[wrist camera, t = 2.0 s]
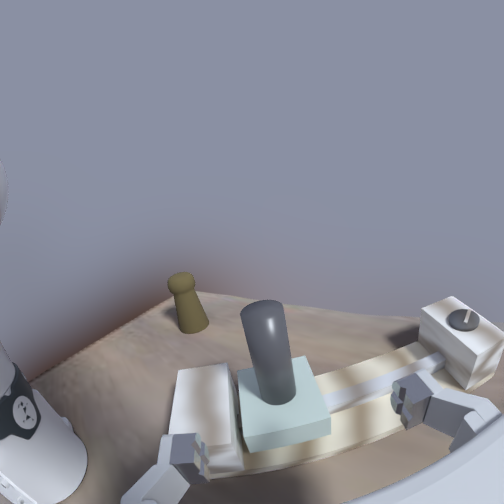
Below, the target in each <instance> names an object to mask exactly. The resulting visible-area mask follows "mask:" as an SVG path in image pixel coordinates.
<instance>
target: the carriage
mask: <svg viewBox="0 0 504 504" xmlns="http://www.w3.org/2000/svg"><path fill="white" fill-rule="evenodd" d="M240 316H241V320H242V324H243V328H244V332H245V336H246V340H247V344H248V348H249V352H250V356H251V359H252V363H253V368H248V369H243V370H238V371H237V374H238V385H239V396H240V407H241V417H242V427H243V437H244V440H245V442H246V444H247V447H248V449H249V452H250V453H254V452H259V451H265V450H270V449H275V448H280V447H285V446H289V445H293V444H298V443H302V442H306V441H309V440H313V439H317V438H320V437H324V436H327V435H331V416H330V413H329V411H328V409H327V406H326V404H325V401H324V399H323V397H322V394H321V392H320V390H319V387H318V385H317V383H316V380H315V378H314V375H313V373H312V371H311V368H310V366H309V364H308V361H307V359H306V357H305V356H301V357H297V358H293V359H291V352H290V346H289V340H288V333H287V327H286V321H285V315H284V309H283V305H282V304H281V303H280V302H278V301H274V300H262V301H257V302H254V303H251V304H249V305H247V306H246V307H244V308H243V309H242V311H241V313H240Z"/></svg>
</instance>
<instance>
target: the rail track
mask: <svg viewBox="0 0 504 504" xmlns="http://www.w3.org/2000/svg"><path fill="white" fill-rule="evenodd" d="M503 349H504V332H503V331H501V330H500V329H499V328H497V327H496V326H495V325H493V324H492V323H491V322H489V321H488V320H486V319H485V318H484V317H482V316H481V315H479V314H478V313H476V312H475V311H474V310H472V309H471V308H469V307H468V306H466V305H465V304H463V303H462V302H460V301H459V300H458V299H456V298H455V297H453V296H451V297H449V298H446V299H444V300H441V301H439V302H436V303H434V304H431V305H429V306H426V307H424V308H422V309H421V319H420V327H419V335H418V341H416V342H414V343H411V344H409V345H406V346H404V347H401V348H399V349H396V350H394V351H391V352H389V353H386V354H383V355H380V356H378V357H375V358H372V359H369V360H366V361H363V362H360V363H357V364H354V365H351V366H348V367H345V368H342V369H339V370H335V371H332V372H329V373H325V374H322V375H318V376H314V378H315V380H316V383H317V385H318V387H319V390H320V392H321V394H322V397H323V399H324V401H325V404H326V406H327V409H328V411H329V413H330V416H331V435H327V436H324V437H320V438H317V439H313V440H309V441H306V442H302V443H298V444H293V445H289V446H285V447H280V448H275V449H270V450H265V451H259V452H254V453H250V452H249V449H248V447H247V444H246V442H245V440H244V437H243V427H242V417H241V407H240V396H239V394H237V391H236V388H235V385H234V382H233V379H232V376H231V373H230V370H229V367H228V364H227V363H222V364H216V365H210V366H204V367H197V368H191V369H184V370H179V371H178V377H177V383H176V389H175V395H174V401H173V407H172V413H171V420H170V426H169V433H168V434H185V433H199V434H200V436H201V441H202V442H204V443H205V444H206V446H207V448H208V452H209V463H208V465H207V468H208V469H209V479H216V478H227V477H236V476H243V475H250V474H257V473H263V472H269V471H274V470H279V469H284V468H289V467H293V466H297V465H302V464H306V463H310V462H313V461H317V460H321V459H324V458H328V457H331V456H334V455H337V454H341V453H344V452H347V451H350V450H353V449H355V448H358V447H361V446H364V445H366V444H369V443H372V442H374V441H377V440H379V439H382V438H384V437H387V436H389V435H391V434H394V433H396V432H398V431H400V430H403V429H405V427H404V426H403V424H402V423H401V421H400V417H401V415H399V414H396V413H395V412H394V410H393V408H392V406H391V401H390V397H391V394H392V392H393V391H394V390H393V389H392V383H393V382H394V381H396V380H398V379H400V378H402V377H405V376H407V375H409V374H411V373H414V372H416V371H418V370H420V369H422V368H424V369H426V370H427V371H428V372H429V373H430V375H431V376H432V377H433V378H434V379H435V380H436V381H437V382H438V383H439V384H440V386H441V387H442V388H443V389H445V388H449V389H452V390H456V391H460V392H463V393H467V394H468V393H470V392H472V391H473V390H475V389H476V388H478V387H479V386H481V385H482V384H483V383H485V382H486V381H488V380H489V379H491V378H492V377H493V376H494V374H495V371H496V368H497V366H498V363H499V360H500V357H501V355H502V352H503Z"/></svg>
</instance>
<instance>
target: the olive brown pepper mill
mask: <svg viewBox="0 0 504 504" xmlns="http://www.w3.org/2000/svg"><path fill="white" fill-rule="evenodd" d="M194 287H195V280H194V277H193V275H192V274H190V273H188V272H181V273H177V274H174V275H173V276H171V277H170V278H169V280H168V288H169V290H170V292H171V293H172V294H174V300H175V305H176V311H177V316H178V321H179V326H180V331H181V332H183V333H185V334H193V333H197V332H200V331H202V330H204V329H205V328H206V327H207V326H208V325H209V320H208V318H207V316H206V314H205V312H204V309H203V307H202V305H201V303H200V301H199V298H198V296H197V294H196V292H195V290H194Z"/></svg>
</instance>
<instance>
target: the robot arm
mask: <svg viewBox="0 0 504 504" xmlns="http://www.w3.org/2000/svg"><path fill="white" fill-rule="evenodd" d="M7 202H8V181H7V175H6V171H5V169H4V166H3V164H2V162H1V160H0V225H1V223H2V221H3V218H4V215H5V212H6V208H7ZM392 389H393V390H394V391H393V392H392V394H391V397H390V401H391V406H392V408H393V410H394V412H395V413H396V414H399V415H401V417H400V421H401V423H402V424H403V426H404V427H405V429H406V430H408V429H410V428H412V427H414V426H417V425H419V424H421V423H423V424H426V425H428V426H430V427H432V428H434V429H436V430H438V431H440V432H443V433H445V434H447V435H449V436H451V437H454V439H453V441H452V443H451V445H450V447H449V450H450V452H451V453H450V454H448V455H446V456H445V457H443V458H441V459H440V460H438V461H436V462H434V463H433V464H431V465H429V466H427V467H425V468H424V469H422V470H420V471H418V472H416V473H414V474H412V475H410V476H408V477H406V478H404V479H402V480H400V481H398V482H395V483H393V484H391V485H389V486H386V487H384V488H382V489H379V490H377V491H374V492H372V493H369V494H367V495H364V496H361V497H358V498H356V499H353V500H350V501H347V502H344V503H341V504H504V414H502V413H501V412H500V411H499V410H498V409H497V408H496V407H495V406H494V405H493V404H492V403H491V401H490V400H489V399H487V398H483V397H479V396H475V395H471V394H467V393H463V392H460V391H456V390H452V389H449V388H445V389H443V388H442V387H441V386H440V384H439V383H438V382H437V381H436V380H435V379H434V378H433V377H432V376H431V375H430V373H429V372H428V371H427V370H426V369H424V368H422V369H420V370H418V371H416V372H414V373H411V374H409V375H407V376H405V377H402V378H400V379H398V380H396V381H394V382H393V383H392ZM208 463H209V452H208V448H207V446H206V444H205V443H204V442H202V441H201V436H200V434H199V433H185V434H168V435H163V436H162V437H161V441H160V447H159V453H158V459H157V465H153V466H152V467H151V468H150V469H149V470H148V471H147V472H146V473H145V474H144V475H143V476H142V477H141V478H140V479H139V480H138V481H137V482H136V483H135V484H134V485H133V486H132V487H131V488H130V489H129V490H128V491H127V492H126V493H125V494H124V495H123V496H122V498H121V503H120V504H178V503H179V501H180V500H181V498H182V497H183V495H184V494H185V492H186V491H187V490H188V488H189V487H190V484H202V483H209V469H208V468H207V465H208ZM86 467H87V452H86V449H85V446H84V444H83V442H82V441H81V440H80V439H79V438H78V437H77V436H76V435H75V433H74V432H73V429H72V425H71V422H70V421H69V420H68V419H67V418H66V417H60V416H59V415H58V414H57V413H56V412H55V411H54V410H53V408H52V407H51V406H50V405H49V404H48V403H47V401H46V400H45V399H44V398H43V397H42V395H41V394H40V393H39V392H38V391H37V390H35V389H32V388H31V386H30V385H29V383H28V382H27V379H26V377H25V376H24V374H23V373H22V372H21V371H20V370H19V368H18V366H17V365H16V364H15V363H13V362H11V360H10V358H9V356H8V355H7V353H6V351H5V349H4V347H3V346H2V344H1V342H0V493H1V494H2V495H3V496H5V497H6V498H7V499H8V500H9V501H11V502H12V503H13V504H55V503H58V502H60V501H62V500H64V499H66V498H67V497H68V496H70V495H71V494H72V493H73V492H74V491H75V490H76V489H77V487H78V486H79V484H80V483H81V481H82V479H83V477H84V475H85V471H86Z"/></svg>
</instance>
